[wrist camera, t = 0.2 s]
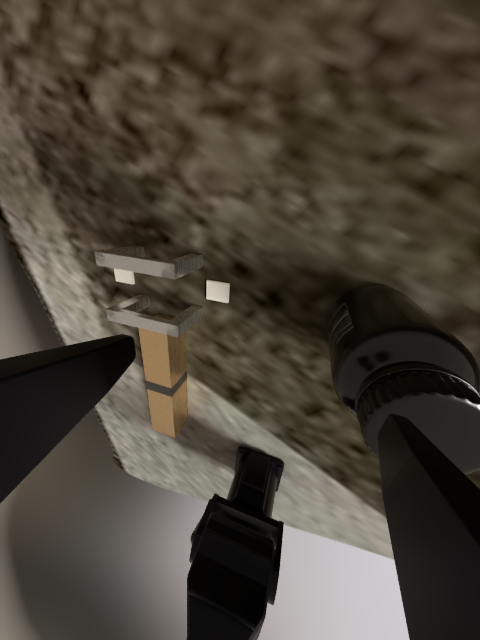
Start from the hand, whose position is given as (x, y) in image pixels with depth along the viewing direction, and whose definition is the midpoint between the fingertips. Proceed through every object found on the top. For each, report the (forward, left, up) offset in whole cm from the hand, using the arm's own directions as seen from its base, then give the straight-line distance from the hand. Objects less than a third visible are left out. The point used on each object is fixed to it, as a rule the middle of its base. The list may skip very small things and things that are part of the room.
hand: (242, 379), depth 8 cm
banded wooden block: (-15, +13, -15) cm, 24 cm away
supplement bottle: (-3, -7, -15) cm, 16 cm away
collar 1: (0, +13, -14) cm, 19 cm away
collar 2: (-5, +13, -14) cm, 20 cm away
